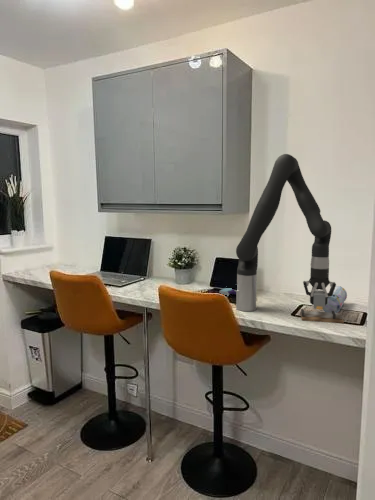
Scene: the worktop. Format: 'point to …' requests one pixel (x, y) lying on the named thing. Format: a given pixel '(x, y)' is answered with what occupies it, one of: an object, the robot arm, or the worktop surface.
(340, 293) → the pencil case
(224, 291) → the pistol
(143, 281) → the worktop surface
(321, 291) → the din module
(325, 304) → the robot arm
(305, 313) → the rail board
